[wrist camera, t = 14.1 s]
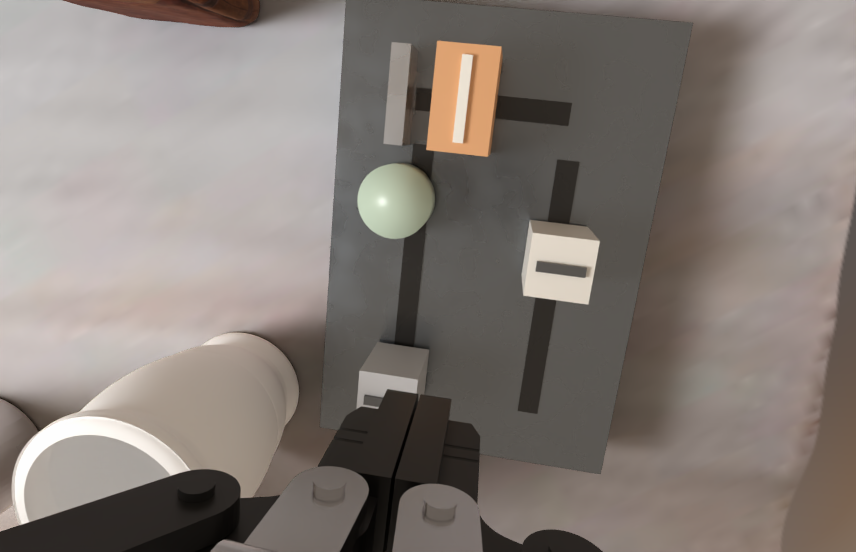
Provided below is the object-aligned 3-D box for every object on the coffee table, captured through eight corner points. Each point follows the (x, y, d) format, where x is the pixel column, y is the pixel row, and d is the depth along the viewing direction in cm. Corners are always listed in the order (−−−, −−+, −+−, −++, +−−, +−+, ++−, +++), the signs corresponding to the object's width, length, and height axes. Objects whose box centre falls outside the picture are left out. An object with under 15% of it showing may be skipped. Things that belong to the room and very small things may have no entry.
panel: (337, 399, 41) (307, 446, 35) (364, 9, 35) (333, -18, 28) (591, 440, 39) (606, 498, 33) (671, 35, 33) (708, 13, 27)
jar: (282, 299, 40) (154, 392, 26) (335, 429, 42) (243, 584, 27) (155, 339, 42) (-30, 446, 28) (210, 461, 44) (65, 621, 30)
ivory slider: (521, 274, 33) (523, 296, 28) (529, 219, 32) (533, 233, 28) (578, 282, 32) (588, 305, 28) (587, 226, 32) (600, 241, 27)
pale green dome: (363, 228, 33) (354, 233, 32) (369, 158, 32) (360, 160, 30) (431, 236, 33) (426, 243, 31) (438, 166, 32) (434, 168, 30)
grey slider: (373, 389, 36) (354, 425, 31) (377, 342, 35) (358, 372, 31) (423, 397, 35) (411, 435, 31) (429, 349, 35) (417, 381, 30)
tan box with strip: (436, 147, 32) (425, 150, 28) (446, 52, 30) (436, 40, 26) (490, 154, 31) (487, 156, 27) (502, 57, 30) (501, 45, 26)
